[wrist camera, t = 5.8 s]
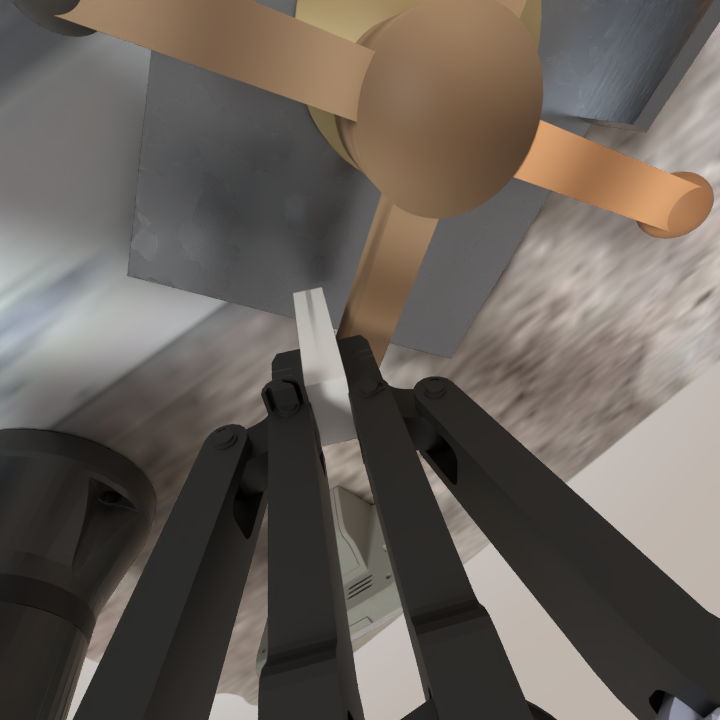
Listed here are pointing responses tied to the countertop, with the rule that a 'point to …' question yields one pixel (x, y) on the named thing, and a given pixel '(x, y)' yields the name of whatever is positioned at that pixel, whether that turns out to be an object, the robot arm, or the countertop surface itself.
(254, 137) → the stand
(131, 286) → the countertop surface
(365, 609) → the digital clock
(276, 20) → the capstan
